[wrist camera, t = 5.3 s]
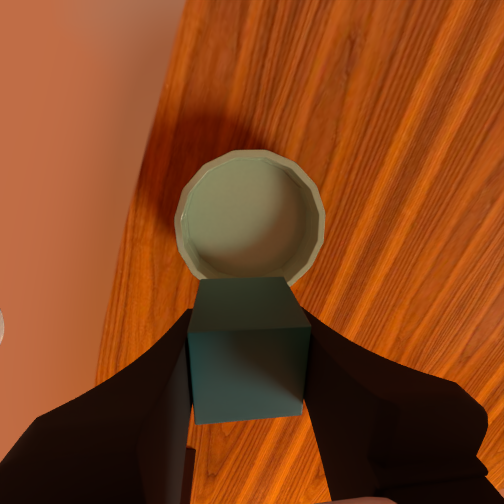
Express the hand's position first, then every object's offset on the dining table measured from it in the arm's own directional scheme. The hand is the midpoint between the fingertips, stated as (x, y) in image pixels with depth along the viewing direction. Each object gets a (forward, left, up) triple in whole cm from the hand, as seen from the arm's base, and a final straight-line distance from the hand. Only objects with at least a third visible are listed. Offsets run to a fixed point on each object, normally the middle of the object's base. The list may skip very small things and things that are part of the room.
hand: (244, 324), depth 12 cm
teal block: (0, 0, -1) cm, 1 cm away
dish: (0, +3, -10) cm, 11 cm away
